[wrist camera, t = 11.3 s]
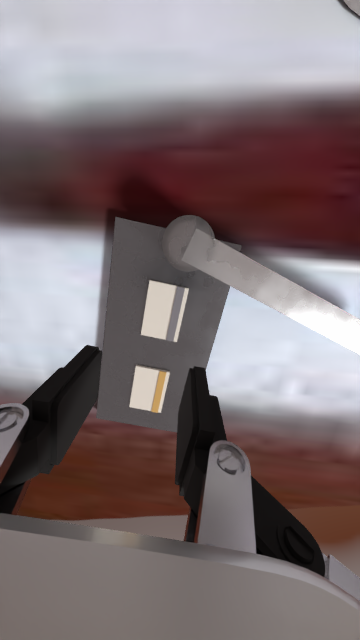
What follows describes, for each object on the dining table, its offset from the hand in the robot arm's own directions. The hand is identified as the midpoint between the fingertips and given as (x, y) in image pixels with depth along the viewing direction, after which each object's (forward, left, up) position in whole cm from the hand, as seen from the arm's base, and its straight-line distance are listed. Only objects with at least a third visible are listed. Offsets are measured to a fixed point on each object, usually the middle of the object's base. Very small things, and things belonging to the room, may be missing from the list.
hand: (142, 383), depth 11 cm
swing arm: (-4, +11, -12) cm, 17 cm away
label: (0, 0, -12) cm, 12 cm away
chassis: (+4, 0, -13) cm, 14 cm away
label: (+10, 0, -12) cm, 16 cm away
